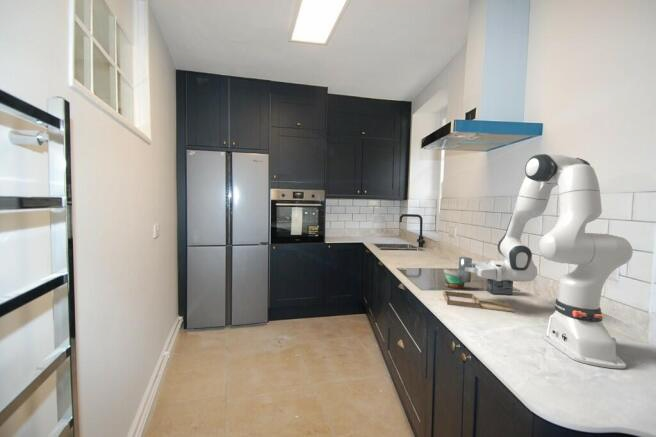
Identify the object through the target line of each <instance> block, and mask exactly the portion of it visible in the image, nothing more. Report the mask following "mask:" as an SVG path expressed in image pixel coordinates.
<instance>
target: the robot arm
mask: <svg viewBox="0 0 656 437" xmlns="http://www.w3.org/2000/svg"><path fill="white" fill-rule="evenodd" d="M524 167H525V168H524V172H525V173H524V174H525V175H526V176H525V177H524V179H523V182H522V183H521V186H520V189H519V192H518V195H517V198H516V202H515V206H514V209H513V212H512V214H511V217H510V220H509V223H508V225H507V227H506V231H505V232H504V233H505V234H504V235H503V236H502V237H501V239H500V240H499V241H498V244H497V250H498V253H499V254H500V255H501V256H503V257H504V260H493V259H490V261H488V262H486V261H481V260H480V261H479V260H472V267H471V268H470V267H464V270H465V271H469V272H471V273H474V274H476V275H477V277H479V278H482V279H486V280H487V279H494V280H496V281H501V280H511V281H513V282H519V283H520V282H521V283H523V282H533V281H534V280H535V278H537V275H538V267H537V266H536V264H535V263H534V261H533V252H532V251H531V249H530V248H529V247H528V246H527V245H526V244H524V243H522V240H521V238H522V234H523V232H524V229H525V226H526V224H527V223H528V222H529V221H530V220H532V219H534V218H535V219H536V218H538V217H540V216H542V215H543V214H544V212H545V211H546V209H547V207H548V204H549V200H550V197H551V193H552V190H553V188H555V187H556V186H558V203H559V204H558V205H559V206H558V212H559V213H558V218H557V221H556V223H555V225H554V226H553V228H552V229H551V230H550V231H548V232H547V233H545V234H543V236H542V237H541V238H540V239H539V241H538V242H539V243H538V250H539V253H540V255H541V256H542V257H543V258H544V259H545V260H547V261H550V262H555V263H560V264H567V265H570V264H571V265H577V266H576V268H575V269H573V270H572V271H571V272H569V273H567V274H564V275H562V276H561V277H560V279H559V280H558V289H557V298H556V299H555V301H554V312H553V313H552V314H551V315H550V316H549V320H548V323H547V324H548V325H547V331H546V333H543V334H542V337H541V338H542V339H544V340H545V341H546V342H548V343H549V344H550V345H552V346H553V347H555V348H557V349H558V350H559V351H560V352H562V354H564V355H566V356H567V357H569V358H570V359H572V360H574V361H576V362H579V363H583V364H587V365H590V366H595V367H601V368H608V369H609V368H611V369H626V368H627V364H626V362H624V361H623V360H622V358H620V356H618V354H617V349H616V348H617V347H616V345H617V344H618V343H617V339H616V337H614V336H611V334H610V333H609V331H608V329H607V328H606V326H605V324H604V323H603V319H604V318H603V317H604V316H605V315H604V314H603V312H602V308H601V306H600V305H601V304H600V303H601V299H602V298H601V297H602V292H603V287H604V284H605V283H606V281H607V279H608V277H610V276H611V274H613V272H615V270H617V269H618V268H620V267H622V266H623V265H624V266H625V264H628V263H629V261H630V260H631V259H632V256H633V252H634V251H633V247H632V245H631V243H630V242H629V241H628V240H627V239H626V238H625V237H622V236H618V235H613V234H609V233H592V232H586V226H587V224H588V223H592V222H594V221H595V220H598V218H600V216H601V215H602V213H603V211H602V210H603V209H602V199H601V190H600V184H599V180H598V177H597V173H596V171H595V169H594V167H593V166H592V165H591V164H590V162H588V161H587V160H585V159H582V158H580V157H571V156H566V155H565V156H564V155H561V154H560V155H559V154H547V153H546V154H545V153H543V154H542V153H541V154H535V155H533V156H531V157H530V158H529V159H528V160H527V162H526V164H525V166H524Z"/></svg>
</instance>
